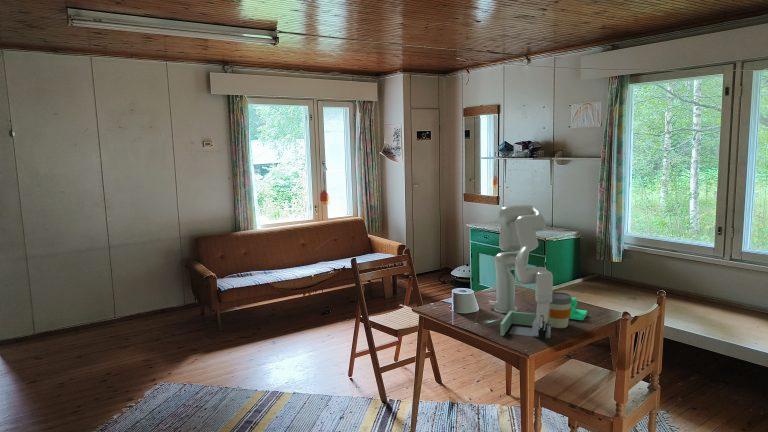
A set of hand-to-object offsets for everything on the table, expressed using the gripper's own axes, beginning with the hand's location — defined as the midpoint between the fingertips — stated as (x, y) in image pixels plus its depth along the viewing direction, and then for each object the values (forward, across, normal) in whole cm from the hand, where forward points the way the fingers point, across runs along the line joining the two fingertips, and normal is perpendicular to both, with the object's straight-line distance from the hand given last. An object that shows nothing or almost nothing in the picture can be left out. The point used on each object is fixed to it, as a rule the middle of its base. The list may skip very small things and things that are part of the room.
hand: (543, 334), depth 245 cm
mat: (+1, -4, -10) cm, 11 cm away
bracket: (+1, -3, -1) cm, 3 cm away
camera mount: (+2, -34, +11) cm, 36 cm away
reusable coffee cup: (+1, -19, +4) cm, 19 cm away
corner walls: (+1, -5, -11) cm, 12 cm away
